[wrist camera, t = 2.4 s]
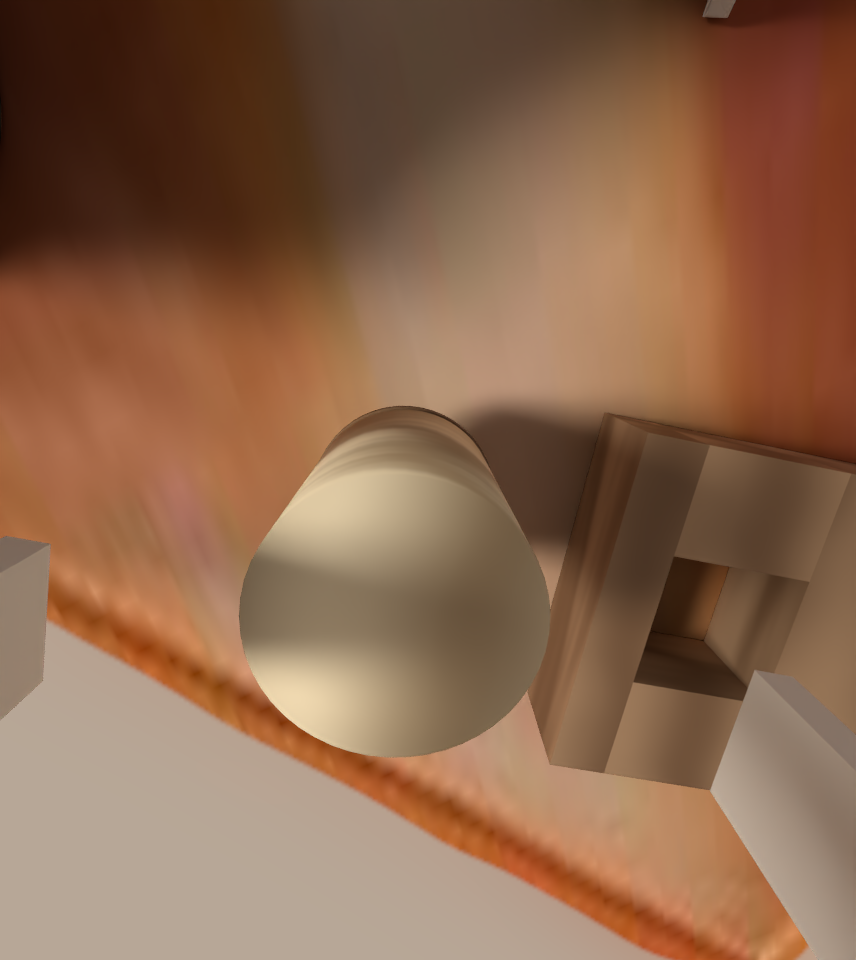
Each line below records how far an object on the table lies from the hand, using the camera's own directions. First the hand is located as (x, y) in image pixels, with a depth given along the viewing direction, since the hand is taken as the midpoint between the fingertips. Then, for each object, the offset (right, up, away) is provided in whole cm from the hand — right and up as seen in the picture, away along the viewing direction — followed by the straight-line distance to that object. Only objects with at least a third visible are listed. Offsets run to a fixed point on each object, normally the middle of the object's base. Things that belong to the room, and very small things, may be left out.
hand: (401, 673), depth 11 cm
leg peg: (0, +4, +15) cm, 16 cm away
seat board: (+16, -2, +17) cm, 23 cm away
